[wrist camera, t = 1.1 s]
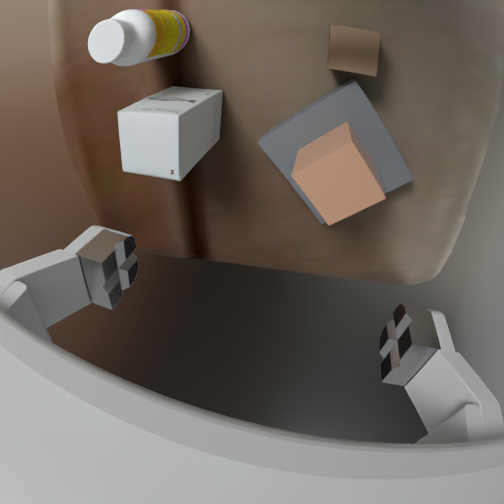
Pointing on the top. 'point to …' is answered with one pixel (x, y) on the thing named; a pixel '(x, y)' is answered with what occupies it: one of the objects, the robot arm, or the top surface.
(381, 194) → the terracotta block
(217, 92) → the supplement box
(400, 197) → the top surface
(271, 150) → the base slab
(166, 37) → the supplement bottle
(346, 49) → the walnut block
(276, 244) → the top surface
